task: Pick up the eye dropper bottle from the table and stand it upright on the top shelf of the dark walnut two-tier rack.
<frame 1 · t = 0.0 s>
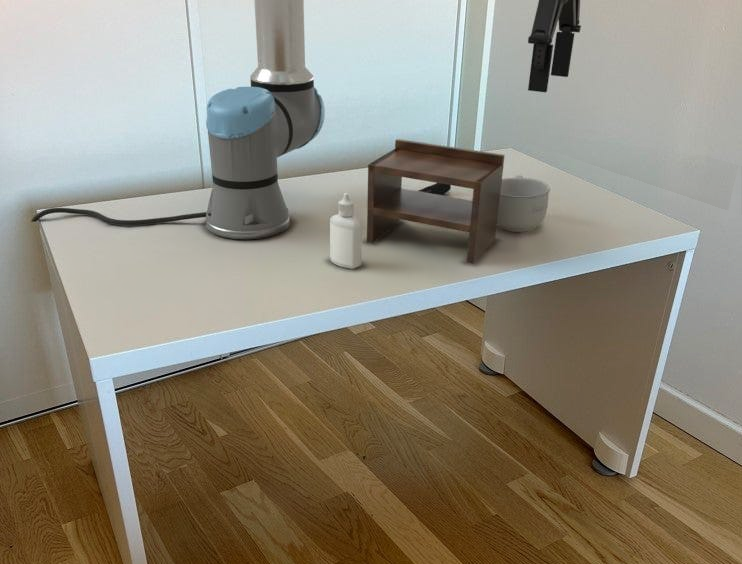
hand: (548, 83, 118), 28 cm above the table, tool pointing down, fingers open, 13 cm apart
electric trimmer: (425, 202, 153), on the table
teacup: (516, 224, 144), on the table
rack: (431, 241, 135), on the table
eye dropper bottle: (345, 264, 126), on the table
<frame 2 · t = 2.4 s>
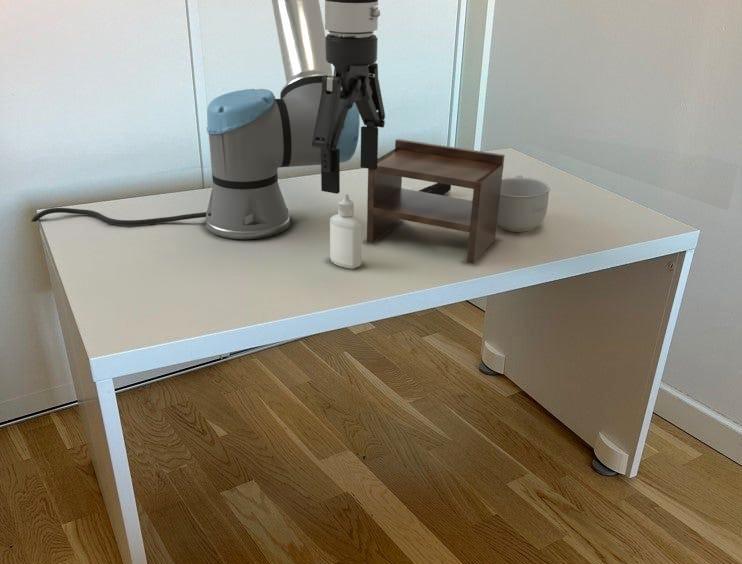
hand: (350, 179, 119), 14 cm above the table, tool pointing down, fingers open, 13 cm apart
nothing on the table moved.
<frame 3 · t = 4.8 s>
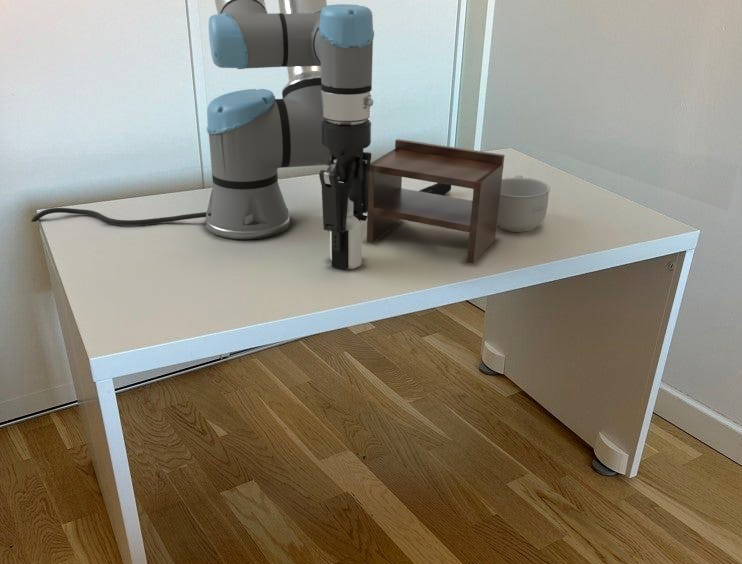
hand: (346, 262, 126), 0 cm above the table, tool pointing down, fingers closed on eye dropper bottle, 4 cm apart
eye dropper bottle: (345, 264, 126), on the table, touching gripper
everything else where it was.
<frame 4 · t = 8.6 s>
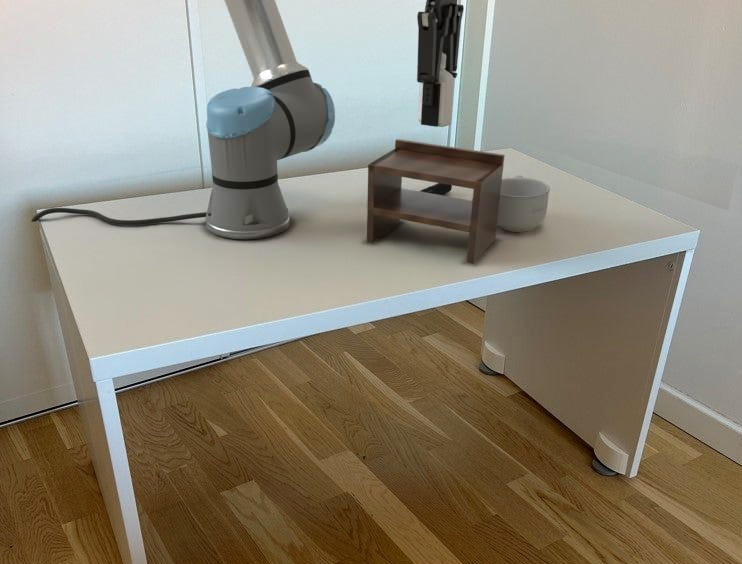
hand: (434, 122, 124), 21 cm above the table, tool pointing down, fingers closed on eye dropper bottle, 4 cm apart
eye dropper bottle: (434, 124, 124), point 21 cm above the table, touching gripper
everything else where it was.
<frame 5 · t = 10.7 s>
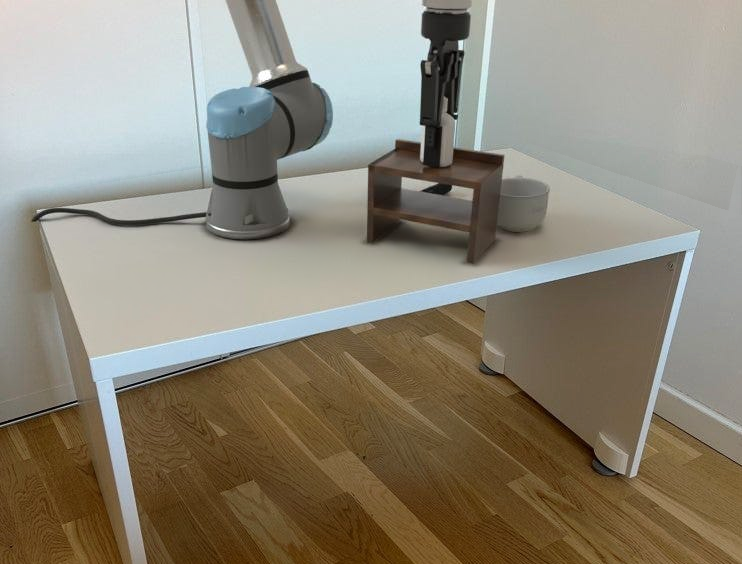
hand: (436, 161, 128), 14 cm above the table, tool pointing down, fingers closed on eye dropper bottle, 4 cm apart
eye dropper bottle: (435, 164, 128), point 14 cm above the table, touching gripper
everything else where it was.
when the fingers open (15 cm above the table, at t = 12.4 s): eye dropper bottle stays where it is, resting on rack.
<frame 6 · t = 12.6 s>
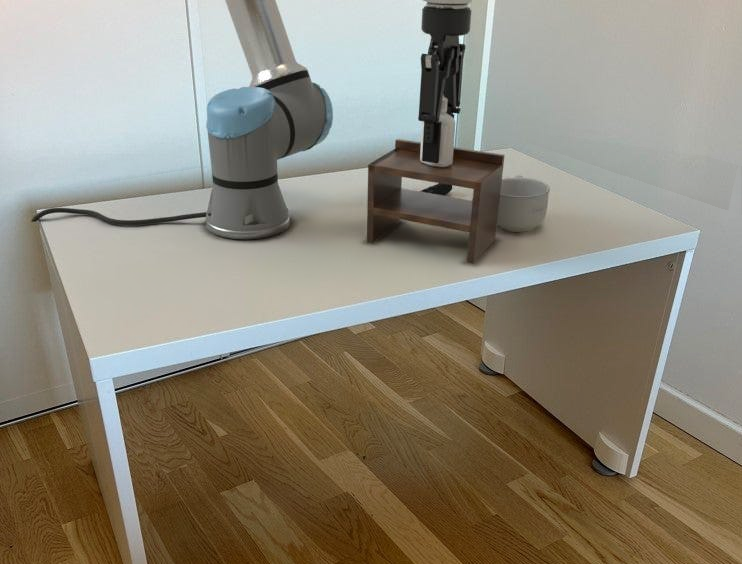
hand: (436, 156, 127), 15 cm above the table, tool pointing down, fingers open, 5 cm apart
eye dropper bottle: (435, 164, 128), point 14 cm above the table, touching rack
everything else where it was.
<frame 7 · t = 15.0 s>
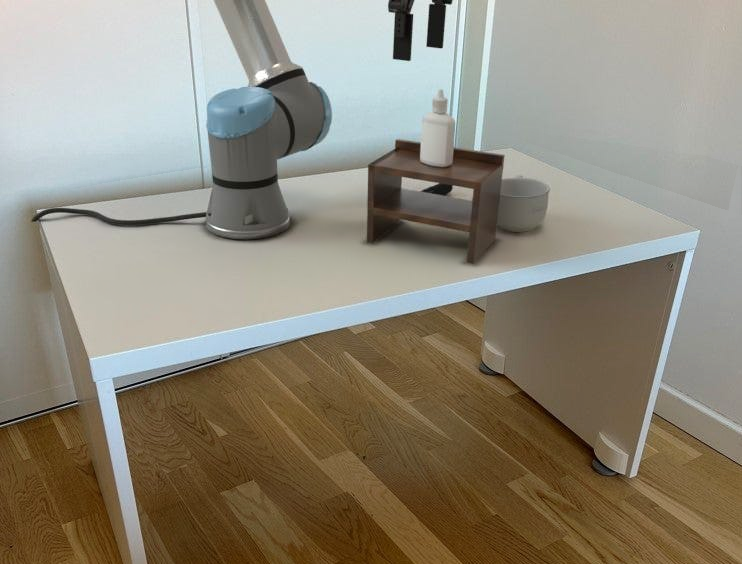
hand: (418, 53, 121), 31 cm above the table, tool pointing down, fingers open, 13 cm apart
nothing on the table moved.
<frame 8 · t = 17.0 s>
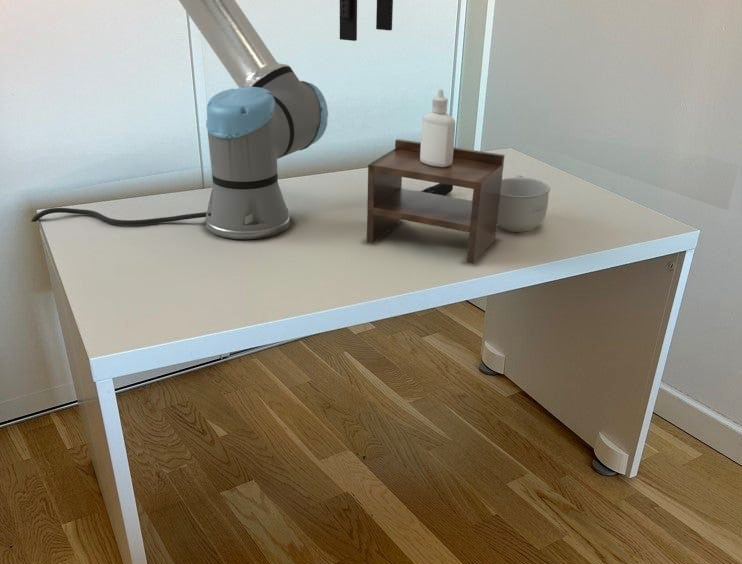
hand: (366, 34, 126), 33 cm above the table, tool pointing down, fingers open, 13 cm apart
nothing on the table moved.
at the end: eye dropper bottle inside the target area on the rack (0.1 cm from its centre), point 13.8 cm above the rack's base; eye dropper bottle tilted 0° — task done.
